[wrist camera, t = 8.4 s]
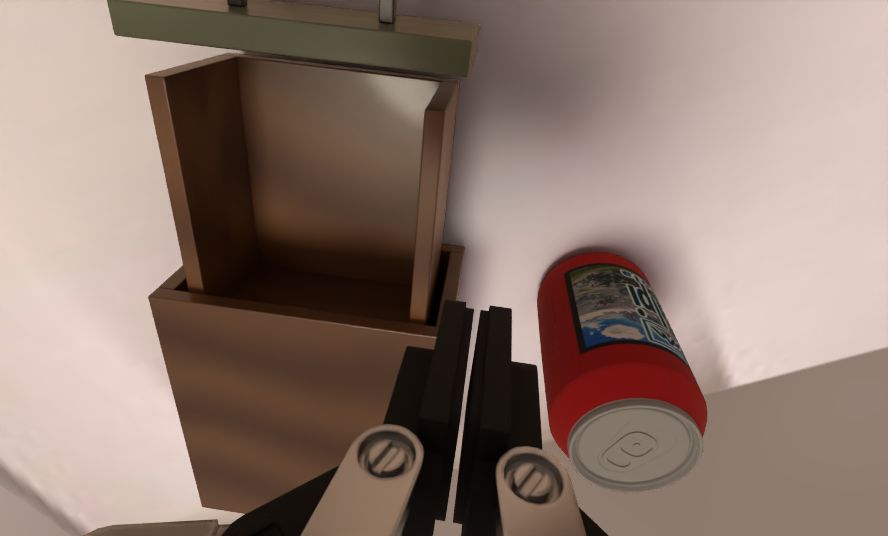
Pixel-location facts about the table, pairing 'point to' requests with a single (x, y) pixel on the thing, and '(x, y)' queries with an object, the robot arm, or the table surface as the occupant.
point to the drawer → (307, 150)
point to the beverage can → (617, 377)
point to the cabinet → (279, 384)
